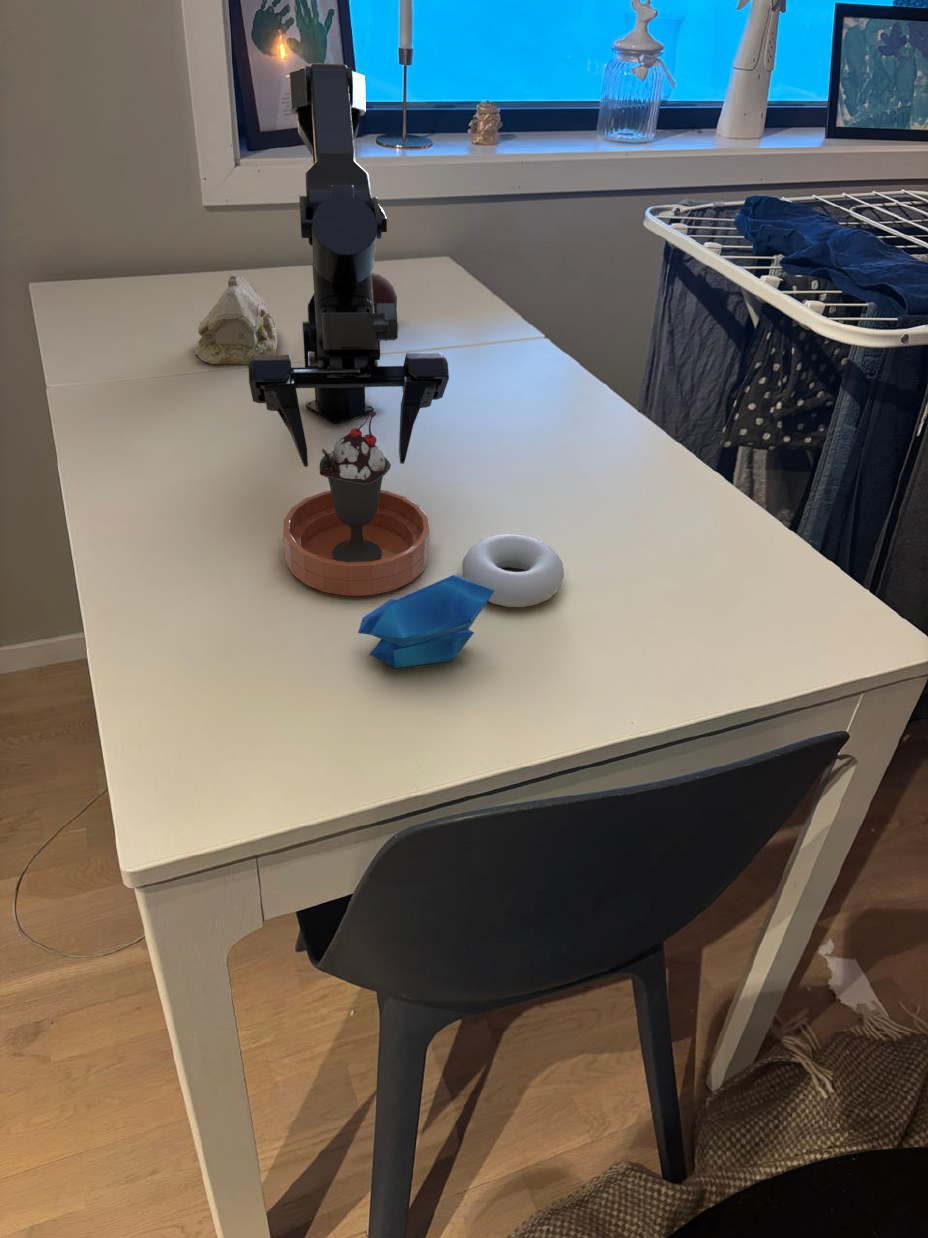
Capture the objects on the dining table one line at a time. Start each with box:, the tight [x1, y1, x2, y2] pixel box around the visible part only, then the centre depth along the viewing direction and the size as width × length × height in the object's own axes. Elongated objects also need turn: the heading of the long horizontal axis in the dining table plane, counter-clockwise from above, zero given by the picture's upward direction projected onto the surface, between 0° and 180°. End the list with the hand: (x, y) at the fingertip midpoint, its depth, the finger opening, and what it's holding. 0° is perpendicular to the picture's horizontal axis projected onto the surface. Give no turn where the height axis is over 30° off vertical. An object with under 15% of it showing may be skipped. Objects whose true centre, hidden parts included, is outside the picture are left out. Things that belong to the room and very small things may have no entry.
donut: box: [461, 533, 565, 608], centre depth 91 cm, size 10×4×10 cm
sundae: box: [318, 411, 392, 562], centre depth 89 cm, size 7×7×15 cm
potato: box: [372, 272, 398, 313], centre depth 142 cm, size 8×9×8 cm
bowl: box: [282, 489, 431, 597], centre depth 93 cm, size 14×14×4 cm
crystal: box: [357, 574, 494, 669], centre depth 80 cm, size 7×9×12 cm
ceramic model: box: [194, 275, 278, 365], centre depth 132 cm, size 14×11×10 cm
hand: (354, 463), depth 89 cm, fingers open, 9 cm apart
